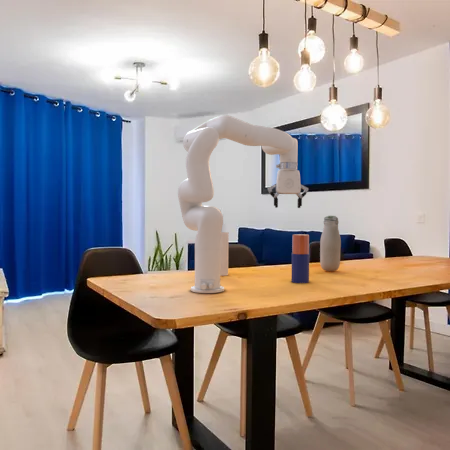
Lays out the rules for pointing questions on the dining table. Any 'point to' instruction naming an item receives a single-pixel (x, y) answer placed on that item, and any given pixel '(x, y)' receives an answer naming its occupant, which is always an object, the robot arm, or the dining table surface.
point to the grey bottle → (330, 244)
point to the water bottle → (300, 268)
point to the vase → (224, 254)
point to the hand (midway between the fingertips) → (287, 207)
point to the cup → (300, 244)
